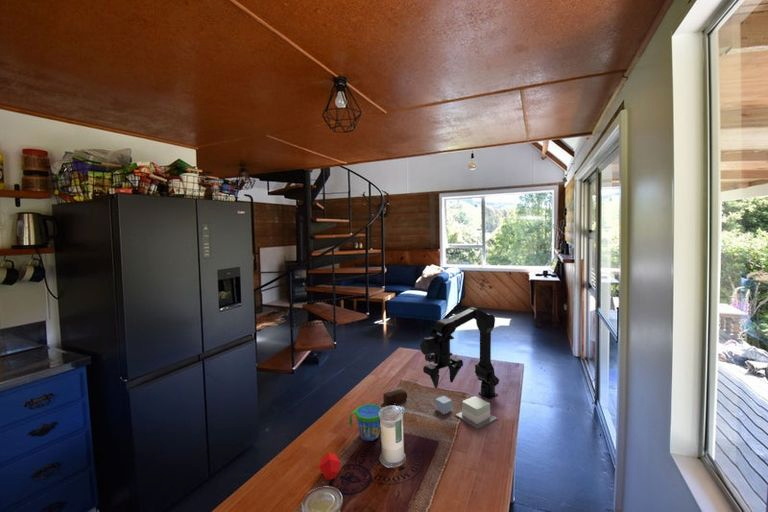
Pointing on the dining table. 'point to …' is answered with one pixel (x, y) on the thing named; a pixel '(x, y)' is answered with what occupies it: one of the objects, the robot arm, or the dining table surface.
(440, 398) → the top block
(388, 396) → the brick
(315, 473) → the dining table surface
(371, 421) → the snack cup
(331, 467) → the red rounded lump
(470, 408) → the pale block on slab
